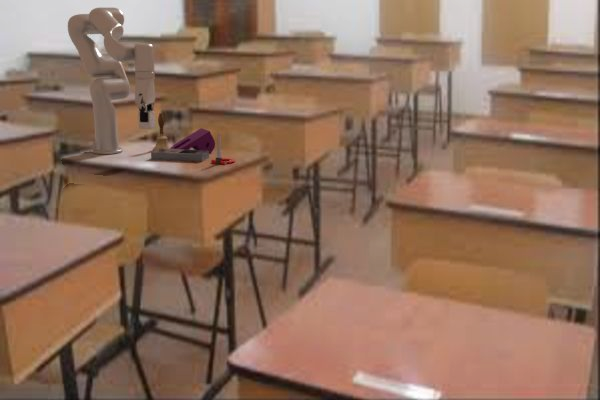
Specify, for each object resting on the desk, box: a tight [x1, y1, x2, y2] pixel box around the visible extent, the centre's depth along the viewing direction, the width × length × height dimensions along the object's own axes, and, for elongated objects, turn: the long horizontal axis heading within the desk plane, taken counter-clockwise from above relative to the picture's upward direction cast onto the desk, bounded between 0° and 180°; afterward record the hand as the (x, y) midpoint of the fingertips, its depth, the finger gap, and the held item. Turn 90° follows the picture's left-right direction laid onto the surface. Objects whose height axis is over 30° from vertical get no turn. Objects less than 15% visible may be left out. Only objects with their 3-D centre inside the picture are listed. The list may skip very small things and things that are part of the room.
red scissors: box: [210, 131, 236, 166], centre depth 304 cm, size 8×13×9 cm
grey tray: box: [150, 148, 210, 163], centre depth 311 cm, size 22×9×3 cm, turn 78°
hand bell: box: [152, 112, 172, 151], centre depth 330 cm, size 8×8×16 cm
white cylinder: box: [137, 109, 156, 130], centre depth 301 cm, size 5×5×7 cm
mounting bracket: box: [170, 127, 216, 153], centre depth 325 cm, size 10×8×18 cm
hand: (146, 120), depth 301 cm, fingers closed on white cylinder, 5 cm apart
